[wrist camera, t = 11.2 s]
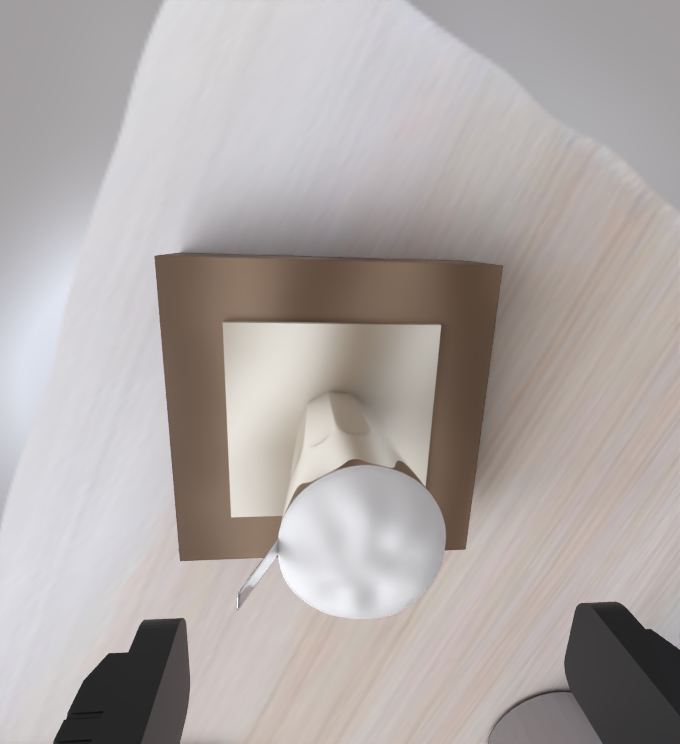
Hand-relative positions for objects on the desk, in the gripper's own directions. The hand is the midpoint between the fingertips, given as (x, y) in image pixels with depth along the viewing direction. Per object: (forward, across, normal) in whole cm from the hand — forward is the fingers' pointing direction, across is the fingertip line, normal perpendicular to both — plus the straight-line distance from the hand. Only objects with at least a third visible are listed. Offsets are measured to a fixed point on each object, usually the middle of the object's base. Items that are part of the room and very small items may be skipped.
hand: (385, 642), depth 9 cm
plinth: (+15, 0, 0) cm, 15 cm away
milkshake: (+11, 0, 0) cm, 11 cm away
